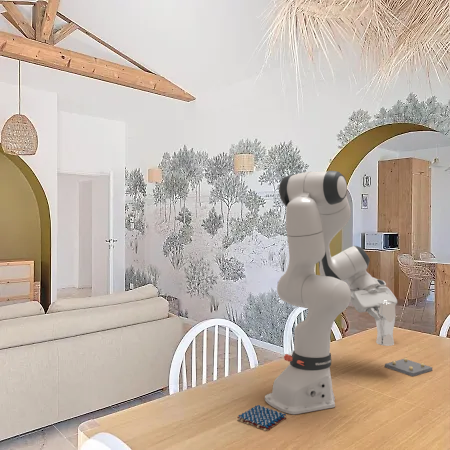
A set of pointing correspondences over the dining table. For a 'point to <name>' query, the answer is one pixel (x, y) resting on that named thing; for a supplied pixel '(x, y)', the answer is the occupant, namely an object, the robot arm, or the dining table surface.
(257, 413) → the woven mat
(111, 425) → the dining table surface
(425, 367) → the coaster
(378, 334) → the beer glass
